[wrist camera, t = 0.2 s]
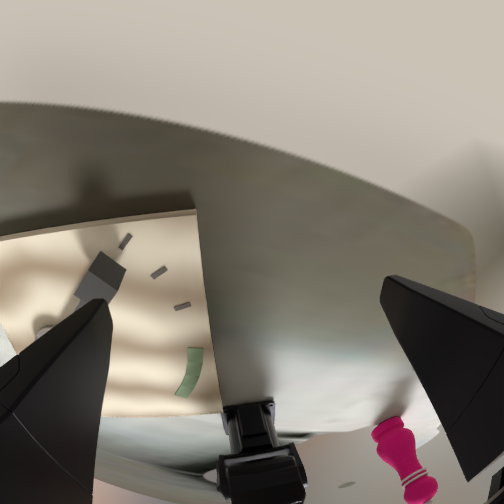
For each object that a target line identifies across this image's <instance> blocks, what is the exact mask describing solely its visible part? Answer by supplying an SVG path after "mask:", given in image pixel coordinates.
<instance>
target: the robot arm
mask: <svg viewBox="0 0 504 504" xmlns="http://www.w3.org/2000/svg"><path fill="white" fill-rule="evenodd" d="M380 303H381V306H382V308H383V310H384V312H385V314H386V316H387V319H388V321H389V323H390V325H391V327H392V330H393V332H394V334H395V336H396V338H397V340H398V342H399V344H400V345H401V347H402V349H403V351H404V352H405V354H406V356H407V358H408V360H409V361H410V363H411V365H412V367H413V369H414V371H415V372H416V374H417V376H418V378H419V380H420V382H421V384H422V386H423V388H424V389H425V391H426V393H427V395H428V397H429V399H430V401H431V403H432V405H433V407H434V409H435V411H436V413H437V415H438V417H439V419H440V422H441V424H442V426H443V428H444V430H445V432H446V433H447V434H446V435H447V437H448V439H449V441H450V443H451V446H452V448H453V450H454V452H455V455H456V457H457V459H458V462H459V464H460V466H461V469H462V471H463V474H464V476H465V478H466V480H467V482H469V481H471V480H472V479H474V478H475V477H477V476H478V475H479V474H481V473H482V472H483V471H484V470H486V469H487V468H488V467H489V466H491V465H492V464H493V463H494V462H496V461H497V460H498V459H499V458H500V457H502V456H503V455H504V314H501V313H499V312H496V311H493V310H490V309H488V308H485V307H483V306H478V305H477V304H475V303H472V302H469V301H467V300H464V299H461V298H459V297H456V296H453V295H450V294H448V293H445V292H442V291H439V290H437V289H434V288H431V287H428V286H426V285H423V284H420V283H417V282H415V281H412V280H409V279H406V278H403V277H401V276H398V275H391V276H387V277H385V279H384V282H383V286H382V290H381V294H380ZM112 334H113V320H112V317H111V313H110V310H109V306H108V303H107V301H106V299H104V298H95V299H92V300H91V301H89V302H88V303H86V304H85V305H83V306H82V307H81V308H79V309H78V310H76V311H75V312H74V313H72V314H71V315H69V316H68V317H67V318H65V319H64V320H62V321H61V322H60V323H58V324H57V325H56V326H54V327H53V328H51V329H50V330H49V331H47V332H46V333H45V334H43V335H42V336H41V337H39V338H38V339H37V340H35V341H34V342H33V343H31V344H30V345H29V346H27V347H26V348H25V349H24V350H22V351H21V352H20V353H19V355H18V354H17V355H16V356H14V357H13V358H12V359H11V360H9V361H8V362H7V363H5V364H4V365H3V366H1V367H0V504H92V498H93V496H92V493H93V480H94V468H95V457H96V448H97V440H98V432H99V425H100V418H101V412H102V405H103V400H104V394H105V388H106V383H107V378H108V372H109V365H110V354H111V343H112ZM222 418H223V423H224V428H225V433H226V435H229V440H230V446H231V452H232V454H229V455H219V460H218V461H216V469H217V491H218V492H220V493H221V494H223V497H225V500H226V502H231V503H232V504H304V500H305V495H306V493H305V489H304V488H307V486H308V483H307V477H306V473H305V469H304V466H303V464H302V462H301V459H300V457H299V454H298V452H297V450H296V447H295V445H294V443H293V442H292V443H289V444H286V445H282V446H280V444H279V441H278V437H277V434H276V430H275V427H274V418H275V403H274V401H266V402H260V403H253V404H246V405H239V406H231V407H223V413H222ZM484 504H504V467H503V468H501V469H500V470H499V471H498V472H497V473H496V474H494V475H493V476H492V480H491V486H490V491H489V496H488V500H487V501H486V502H485V503H484Z"/></svg>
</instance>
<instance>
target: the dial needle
mask: <svg viewBox="0 0 504 504" xmlns="http://www.w3.org/2000/svg"><path fill="white" fill-rule="evenodd" d="M126 270H127V269H125V268H124V267H122V266H121V265H120V264H118V263H117V262H115V261H114V260H113V259H111V258H110V257H109V256H107V255H106V254H104V253H103V252H102V251H100V252H99V254H98V255H97V257H96V258H95V260H94V261H93V263H92V265H91V266H90V268H89V269H88V271H87V273H86V274H85V276H84V278H83V279H82V281H81V283H80V284H79V286H78V288H77V289H76V291H75V293H74V294H73V295H75V296H76V297H78V298H79V299H80V302H79V304H78V305H77V307H76V309H75V310H74V312H75V311H76V310H78V309H79V308H81V307H82V306H83V305H85V304H86V303H88V302H89V301H91V300H92V299H95V298H104V299H106V301H107V303H108V305H109V303H110V302H111V300H112V299H113V297H114V296H115V295H116V293H117V292H118V290H119V287H120V285H121V282H122V280H123V277H124V275H125V272H126ZM74 312H73V313H74ZM54 326H56V325H46V326H43V327H42V328H41V329H40V330H39V332H38V334H37V335H36V337H35V340H37V339H38V338H39V337H41V336H42V335H43V334H45V333H46V332H47V331H49V330H50V329H51V328H53V327H54ZM35 340H34V341H35Z"/></svg>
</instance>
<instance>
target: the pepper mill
mask: <svg viewBox="0 0 504 504" xmlns="http://www.w3.org/2000/svg"><path fill="white" fill-rule="evenodd" d="M403 427H404V423H403V421H402V420H401V418H400V417H393V418H390V419H388V420H386V421H384V422H382V423H381V424H379V425H378V426H377V427H376V428H375V429H374V430H373V431H372V434H371V436H372V438H373V439H374V441H375V442H376V443H378V446H377V453H378V455H379V456H380V458H381V459H382V460H384V461H385V462H386V463H388V464H389V465H391V466H392V467H393V468H395V470H396V471H397V472H398V474H399V476H400V479H401V482H400V484H401V485H402V488H405V492H404V499H405V501H406V502H407V503H408V504H433V501H431V500H430V499H431V498H432V497H433V496H434V495H435V494H436V492H437V489H438V484H437V481H436V479H435V478H433V477H429V476H427V474H428V472H426V468H422V466H421V465H420V463H419V462H418V459H417V457H416V450H415V438H414V435H413V433H412V431H411V430H409V429H407V428H403Z"/></svg>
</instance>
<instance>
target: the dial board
mask: <svg viewBox="0 0 504 504" xmlns="http://www.w3.org/2000/svg"><path fill="white" fill-rule="evenodd" d="M100 251H102V252H103V253H104V254H106V255H107V256H109V257H110V258H111V259H113V260H114V261H115V262H117V263H118V264H120V265H121V266H122V267H124V268H125V269H127V270H126V272H125V275H124V277H123V280H122V282H121V285H120V287H119V290H118V292H117V293H116V295H115V296H114V297H113V299H112V300H111V302H110V303H109V305H108V306H109V310H110V313H111V317H112V320H113V334H112V343H111V354H110V365H109V372H108V378H107V383H106V388H105V394H104V400H103V405H102V412H101V416H102V417H172V416H189V415H202V414H213V413H223V406H222V400H221V394H220V388H219V382H218V376H217V370H216V364H215V357H214V351H213V344H212V337H211V331H210V323H209V316H208V309H207V301H206V293H205V285H204V277H203V269H202V260H201V251H200V241H199V232H198V222H197V211H196V209H190V210H180V211H170V212H161V213H152V214H144V215H135V216H127V217H119V218H112V219H104V220H97V221H90V222H83V223H76V224H70V225H63V226H57V227H50V228H44V229H38V230H32V231H27V232H21V233H16V234H10V235H5V236H0V323H1V325H2V327H3V329H4V331H5V333H6V335H7V337H8V339H9V341H10V342H11V344H12V346H13V348H14V350H15V352H16V353H17V354H18V355H19V353H20V352H21V351H22V350H24V349H25V348H26V347H27V346H29V345H30V344H31V343H33V342H34V340H35V337H36V335H37V334H38V332H39V330H40V329H41V328H42V327H43V326H46V325H57V324H58V323H60V322H61V321H62V320H64V319H65V318H67V317H68V316H69V315H71V314H72V313H73V312H74V310H75V309H76V307H77V305H78V304H79V302H80V299H79V298H78V297H76V296H75V295H73V294H74V293H75V291H76V289H77V288H78V286H79V284H80V283H81V281H82V279H83V278H84V276H85V274H86V273H87V271H88V269H89V268H90V266H91V265H92V263H93V261H94V260H95V258H96V257H97V255H98V254H99V252H100Z"/></svg>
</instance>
